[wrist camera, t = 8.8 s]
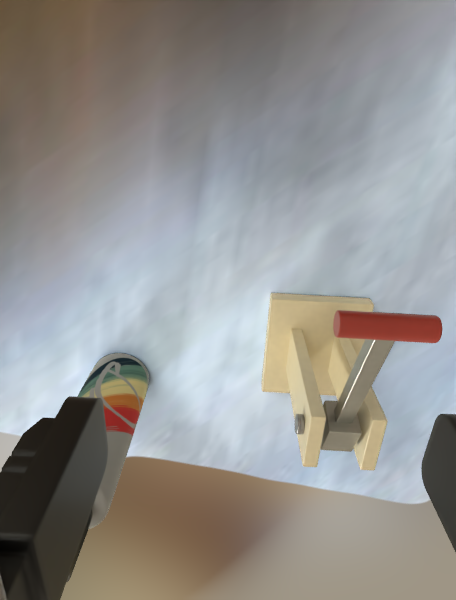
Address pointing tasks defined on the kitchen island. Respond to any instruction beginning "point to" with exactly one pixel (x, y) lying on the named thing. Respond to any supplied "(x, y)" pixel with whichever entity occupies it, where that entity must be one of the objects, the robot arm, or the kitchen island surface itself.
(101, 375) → the lotion bottle
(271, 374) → the bracket
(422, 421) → the kitchen island surface
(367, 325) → the lever
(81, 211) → the kitchen island surface
